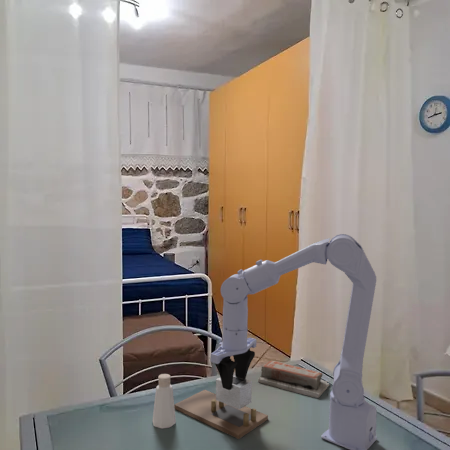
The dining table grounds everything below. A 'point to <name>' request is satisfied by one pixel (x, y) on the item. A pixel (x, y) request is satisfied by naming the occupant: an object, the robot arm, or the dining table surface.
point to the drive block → (235, 392)
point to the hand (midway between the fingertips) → (233, 384)
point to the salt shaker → (164, 403)
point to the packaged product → (293, 379)
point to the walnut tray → (221, 414)
